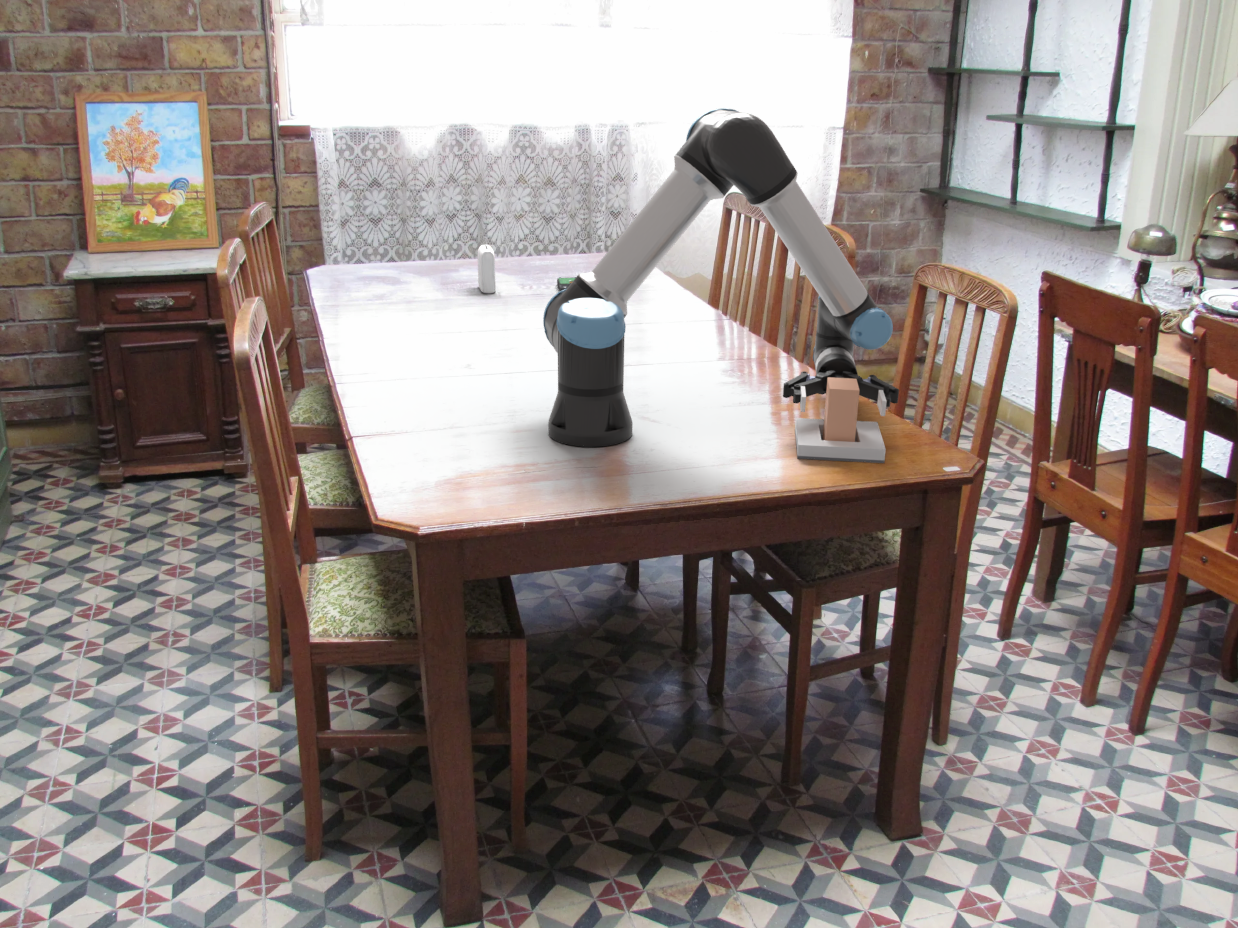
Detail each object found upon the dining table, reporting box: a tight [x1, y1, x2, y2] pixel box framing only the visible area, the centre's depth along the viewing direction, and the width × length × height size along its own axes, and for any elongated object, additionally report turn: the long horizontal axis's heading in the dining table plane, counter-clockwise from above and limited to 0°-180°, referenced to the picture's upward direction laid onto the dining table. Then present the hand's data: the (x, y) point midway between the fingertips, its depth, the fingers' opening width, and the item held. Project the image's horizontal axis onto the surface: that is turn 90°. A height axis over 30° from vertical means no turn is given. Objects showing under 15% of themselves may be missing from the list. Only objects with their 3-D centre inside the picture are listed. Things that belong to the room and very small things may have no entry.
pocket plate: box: [794, 417, 887, 464], centre depth 200 cm, size 15×15×2 cm
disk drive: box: [556, 276, 577, 292], centre depth 318 cm, size 10×3×15 cm
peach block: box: [823, 377, 860, 442], centre depth 199 cm, size 5×7×11 cm
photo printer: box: [476, 244, 496, 294], centre depth 314 cm, size 10×4×12 cm, turn 13°
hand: (843, 406), depth 196 cm, fingers open, 13 cm apart
